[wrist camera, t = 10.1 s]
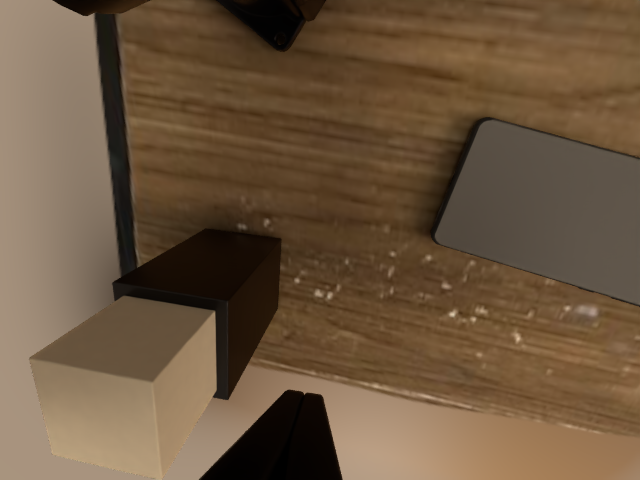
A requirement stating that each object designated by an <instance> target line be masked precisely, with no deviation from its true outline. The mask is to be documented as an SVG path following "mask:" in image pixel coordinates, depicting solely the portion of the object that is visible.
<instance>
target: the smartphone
mask: <svg viewBox="0 0 640 480" xmlns="http://www.w3.org/2000/svg"><path fill="white" fill-rule="evenodd" d="M431 238H432V240H433V241H434V242H435V243H436V244H439V245H442V246H445V247H448V248H452V249H455V250H458V251H461V252H465V253H468V254H471V255H475V256H478V257H481V258H484V259H488V260H491V261H494V262H498V263H501V264H504V265H507V266H511V267H514V268H517V269H521V270H524V271H527V272H530V273H534V274H537V275H540V276H544V277H547V278H550V279H553V280H557V281H560V282H563V283H567V284H570V285H573V286H576V287H578V288H580V289H583V290H587V291H590V292H596V293H599V294H603V295H606V296H609V297H611V298H613V299H616V300H620V301H623V302H626V303H629V304H633V305H636V306H639V307H640V158H638V157H635V156H631V155H627V154H624V153H620V152H616V151H613V150H609V149H605V148H602V147H598V146H594V145H591V144H587V143H583V142H580V141H576V140H572V139H569V138H565V137H561V136H558V135H554V134H550V133H547V132H543V131H539V130H536V129H532V128H528V127H524V126H521V125H517V124H513V123H510V122H506V121H502V120H499V119H495V118H491V117H486V118H482V119H480V120H478V121H477V122H476V123H475V124H474V126H473V128H472V131H471V133H470V136H469V138H468V141H467V143H466V146H465V148H464V151H463V153H462V155H461V158H460V160H459V163H458V165H457V168H456V170H455V173H454V175H453V178H452V180H451V183H450V185H449V188H448V190H447V192H446V195H445V197H444V200H443V202H442V205H441V207H440V210H439V212H438V215H437V217H436V220H435V222H434V224H433V227H432V229H431Z"/></svg>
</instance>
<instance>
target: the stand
mask: <svg viewBox="0 0 640 480" xmlns="http://www.w3.org/2000/svg"><path fill="white" fill-rule="evenodd" d="M280 255H281V239H279V238H272V237H265V236H257V235H250V234H243V233H235V232H228V231H221V230H213V229H204V230H202V231H200V232H199V233H197V234H195V235H194V236H192V237H190V238H188V239H187V240H185V241H183V242H181V243H180V244H178V245H176V246H174V247H173V248H171V249H169V250H168V251H166V252H164V253H162V254H161V255H159V256H157V257H155V258H154V259H152V260H150V261H149V262H147V263H145V264H143V265H142V266H140V267H138V268H136V269H135V270H133V271H131V272H130V273H128V274H126V275H124V276H123V277H121V278H119V279H118V280H116V281H114V282H113V283H112V285H113V292H114V300H115V301H116V300H118V299H120V298H121V297H123V296H130V297H136V298H142V299H148V300H154V301H160V302H166V303H171V304H177V305H183V306H189V307H195V308H201V309H207V310H213V311H215V323H216V378H217V390H216V392H215V394H214V395H213V397H214V398H219V399H224V400H228V399H229V397H230V396H231V394H232V392H233V390H234V388H235V386H236V384H237V382H238V381H239V379H240V377H241V375H242V373H243V371H244V370H245V368H246V366H247V364H248V362H249V361H250V359H251V357H252V355H253V353H254V351H255V349H256V348H257V346H258V344H259V342H260V340H261V338H262V337H263V335H264V333H265V331H266V329H267V327H268V325H269V324H270V322H271V320H272V318H273V316H274V314H275V313H276V311H277V309H278V293H279V274H280Z"/></svg>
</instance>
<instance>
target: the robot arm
mask: <svg viewBox="0 0 640 480" xmlns="http://www.w3.org/2000/svg"><path fill="white" fill-rule="evenodd" d="M53 1H55V2H56V3H58V4H60V5H61V6H64V7H66V8H68V9H70V10H72V11H74V12H77V13H79V14H81V15H83V16H88V15H91V14H93V13H95V12H98V13H101V14H114V13H124V12H126V11H128V10H130V9H132V8H135V7H137V6H139V5H141V4H143V3H146V2H148V1H150V0H53ZM217 1H218V2H219V3H220V4H221V5H223V6H224V7H225V8H226V9H228V10H229V11H230V12H231V13H232V14H234V15H235V16H236V17H237V18H239V19H240V20H241V21H242V22H243V23H245V24H246V25H247V26H248V27H250V28H251V29H252V30H253V31H254V32H256V33H257V34H258V35H259V36H260V37H262V38H263V39H264V40H265V41H267V42H268V43H269V44H270V45H271V46H273V47H274V48H275V49H276V50H278V51H280V52H285V51H287V50H288V49H289V48H290V47H291V45H292V44H293V42H294V40H295V39H296V37H297V35H298V34H299V32H300V31H301V29H302V27H303V26H304V24H305V22H306V21H308V22H309V21H312V20H314V19H315V17H316V16H317V14H318V13H319V11H320V9H321V8H322V6H323V4H324V3H325V1H326V0H217ZM281 35H284V36H285V42H284V43H283V44H281V45H279V44H278V41H277V40H278V37H279V36H281ZM199 480H342V475H341V471H340V467H339V463H338V458H337V454H336V450H335V446H334V442H333V437H332V433H331V429H330V425H329V421H328V416H327V412H326V408H325V404H324V399H323V397H322V395H320V394H314V393H306V394H305V395H304V393H303V392H301V391H295V390H287V391H285V392H284V393H283V394H282V395H281V396H280V397H279V398H278V399H277V400H276V401H275V402H274V403H273V404H272V406H270V408H269V409H268V410H267V411H266V412H265V413H264V414H263V415H262V416H261V417H260V418H259V419H258V420H257V421H256V422H255V423H254V424H253V425H252V426H251V427H250V428H249V429H248V430H247V431H246V432H245V433H244V434H243V435H242V436H241V437H240V438H239V439H238V440H237V441H236V442H235V443H234V444H233V445H232V446H231V447H230V448H229V449H228V450H227V451H226V452H225V453H224V454H223V455H222V456H221V457H220V458H219V460H218V461H217V462H216V463H215V464H214V465H213V466H212V467H211V468H210V469H209V470H208V471H207V472H206V473H205V474H204V475H203V476H202V477H201V478H200V479H199Z"/></svg>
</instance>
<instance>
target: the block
mask: <svg viewBox="0 0 640 480" xmlns="http://www.w3.org/2000/svg"><path fill="white" fill-rule="evenodd" d="M29 360H30V364H31V368H32V373H33V377H34V381H35V385H36V389H37V393H38V397H39V401H40V405H41V409H42V414H43V418H44V422H45V426H46V430H47V434H48V438H49V442H50V446H51V451H52V454H53V455H55V456H59V457H63V458H68V459H72V460H77V461H80V462H85V463H89V464H93V465H97V466H102V467H106V468H110V469H114V470H119V471H123V472H127V473H131V474H136V475H140V476H144V477H149V478H153V479H157V480H162V479H163V478H164V476H165V474H166V473H167V471H168V469H169V468H170V466H171V464H172V462H173V461H174V459H175V458H176V456H177V454H178V453H179V451H180V450H181V448H182V446H183V445H184V443H185V441H186V440H187V438H188V436H189V435H190V433H191V431H192V430H193V428H194V426H195V424H196V423H197V422H198V420H199V418H200V417H201V415H202V413H203V412H204V410H205V408H206V407H207V405H208V403H209V402H210V400H211V398H212V397H213V395H214V394H215V392H216V390H217V378H216V323H215V311H213V310H207V309H201V308H195V307H189V306H183V305H177V304H171V303H166V302H160V301H154V300H148V299H142V298H136V297H130V296H123V297H121V298H120V299H118V300H116V301H115V302H113V303H112V304H110V305H109V306H108V307H106V308H104V309H103V310H101V311H100V312H98V313H97V314H95V315H94V316H92V317H91V318H89V319H88V320H86V321H85V322H83V323H82V324H80V325H79V326H77V327H75V328H74V329H72V330H71V331H69V332H68V333H66V334H65V335H63V336H62V337H60V338H59V339H58V340H56V341H54V342H53V343H51V344H50V345H48V346H47V347H45V348H44V349H42V350H41V351H39V352H37V353H36V354H34V355H33V356H31V357H30V358H29Z"/></svg>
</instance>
